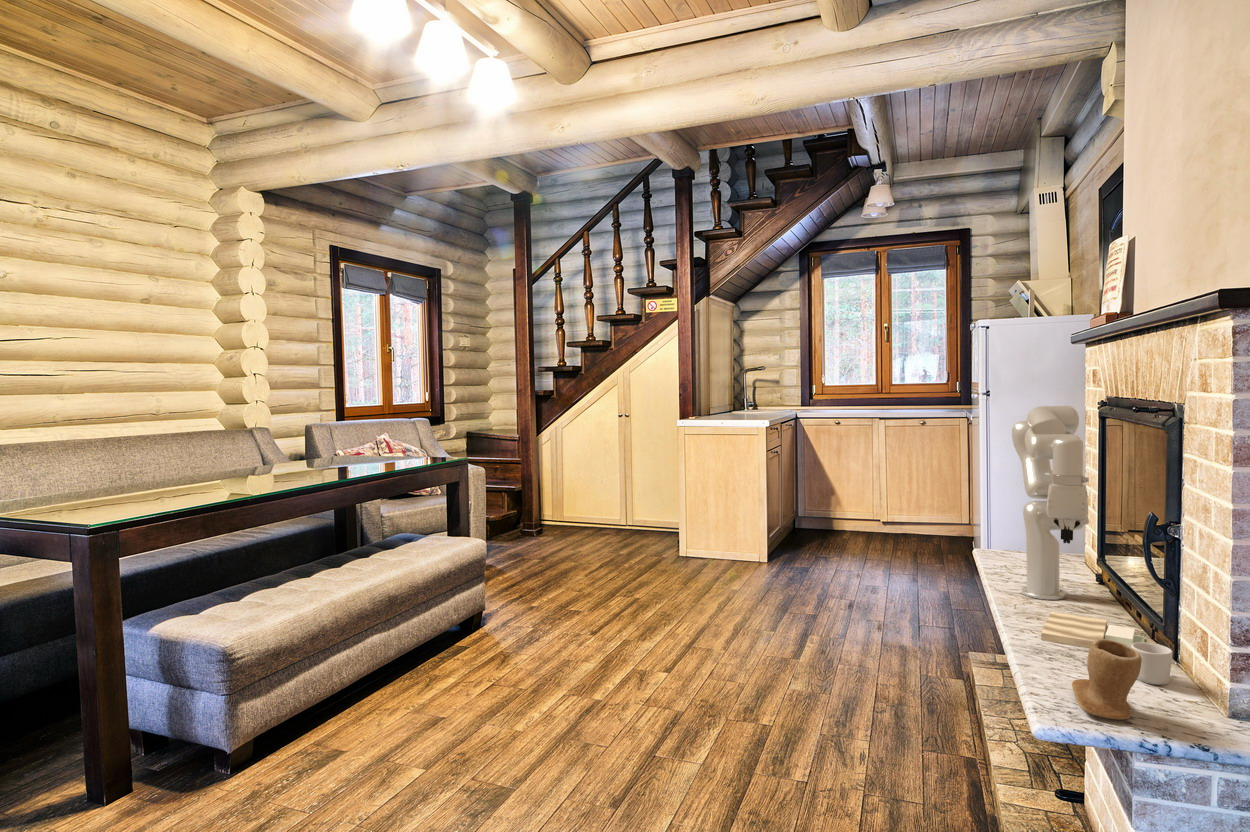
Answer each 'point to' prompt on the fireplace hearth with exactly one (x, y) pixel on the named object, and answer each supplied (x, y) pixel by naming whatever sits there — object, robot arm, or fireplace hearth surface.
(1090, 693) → the brown hollow flared vessel
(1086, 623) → the wavy wooden board
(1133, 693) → the fireplace hearth surface
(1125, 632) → the cream rectangular block
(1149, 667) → the cup
